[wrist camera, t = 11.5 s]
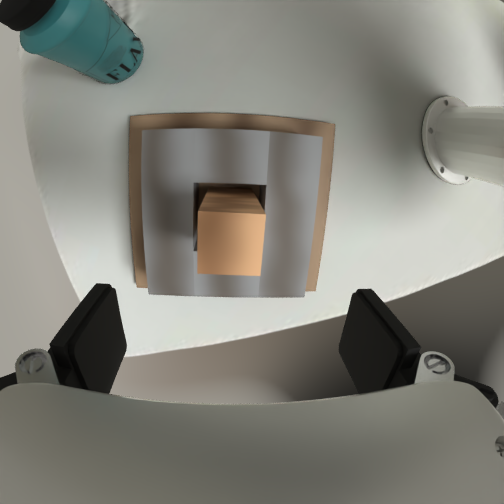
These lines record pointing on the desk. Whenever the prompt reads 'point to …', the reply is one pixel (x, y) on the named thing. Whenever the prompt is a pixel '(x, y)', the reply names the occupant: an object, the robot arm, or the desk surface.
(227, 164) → the socket board
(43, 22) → the beverage bottle
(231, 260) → the peg
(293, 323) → the desk surface
